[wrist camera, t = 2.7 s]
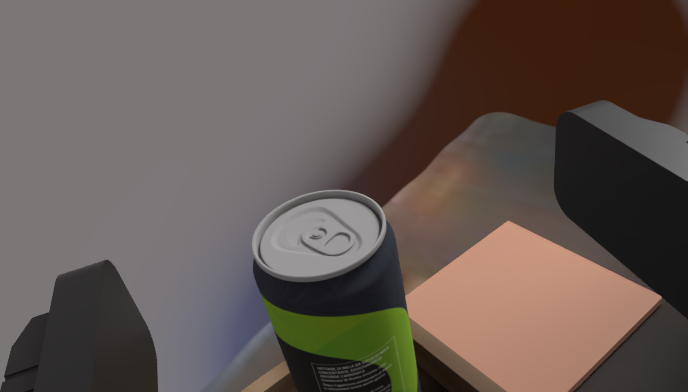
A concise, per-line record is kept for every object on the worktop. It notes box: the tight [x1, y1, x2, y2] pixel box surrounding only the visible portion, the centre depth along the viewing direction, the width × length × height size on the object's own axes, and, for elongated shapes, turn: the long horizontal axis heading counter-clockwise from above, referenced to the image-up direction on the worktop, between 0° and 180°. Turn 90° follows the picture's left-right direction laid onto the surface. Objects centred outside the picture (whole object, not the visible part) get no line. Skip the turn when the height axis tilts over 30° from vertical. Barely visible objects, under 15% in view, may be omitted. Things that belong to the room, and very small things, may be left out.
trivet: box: [405, 221, 663, 392], centre depth 37 cm, size 12×12×1 cm
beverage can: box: [252, 190, 421, 392], centre depth 28 cm, size 6×6×15 cm
